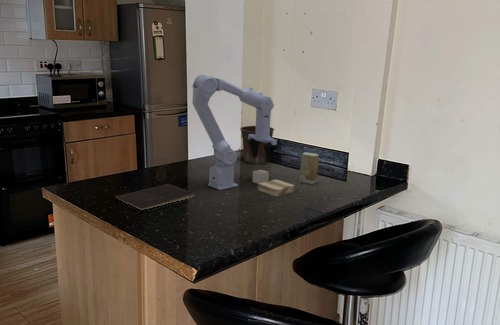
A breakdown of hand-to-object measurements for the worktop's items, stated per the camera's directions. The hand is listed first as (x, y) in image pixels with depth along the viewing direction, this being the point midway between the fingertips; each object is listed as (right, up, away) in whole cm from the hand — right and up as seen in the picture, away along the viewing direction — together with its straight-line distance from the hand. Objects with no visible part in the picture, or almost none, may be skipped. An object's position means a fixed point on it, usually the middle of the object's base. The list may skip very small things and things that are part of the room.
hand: (261, 159), depth 181 cm
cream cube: (0, -9, +2) cm, 10 cm away
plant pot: (-2, -1, +37) cm, 37 cm away
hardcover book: (-38, -15, -22) cm, 47 cm away
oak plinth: (+6, -13, -8) cm, 16 cm away
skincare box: (+20, -10, +5) cm, 22 cm away
